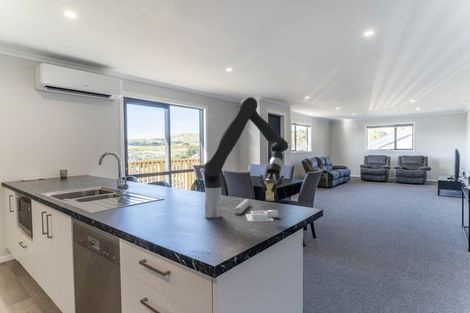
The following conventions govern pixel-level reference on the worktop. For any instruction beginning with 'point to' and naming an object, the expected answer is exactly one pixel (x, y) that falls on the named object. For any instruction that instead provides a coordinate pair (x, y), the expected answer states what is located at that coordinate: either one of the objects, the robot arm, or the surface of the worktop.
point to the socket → (262, 216)
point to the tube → (242, 206)
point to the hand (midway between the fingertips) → (268, 191)
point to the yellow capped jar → (269, 189)
